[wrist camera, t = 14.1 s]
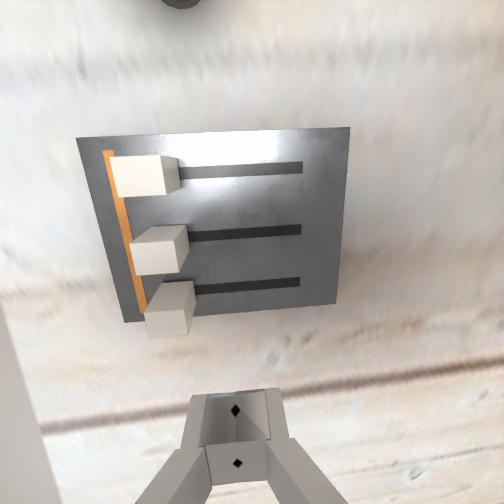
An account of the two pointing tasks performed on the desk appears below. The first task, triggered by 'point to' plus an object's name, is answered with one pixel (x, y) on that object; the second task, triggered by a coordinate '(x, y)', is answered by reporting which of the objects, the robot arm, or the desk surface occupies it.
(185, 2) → the beverage cup
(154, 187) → the block
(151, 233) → the block
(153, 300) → the block
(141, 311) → the grey slider panel
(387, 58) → the desk surface
